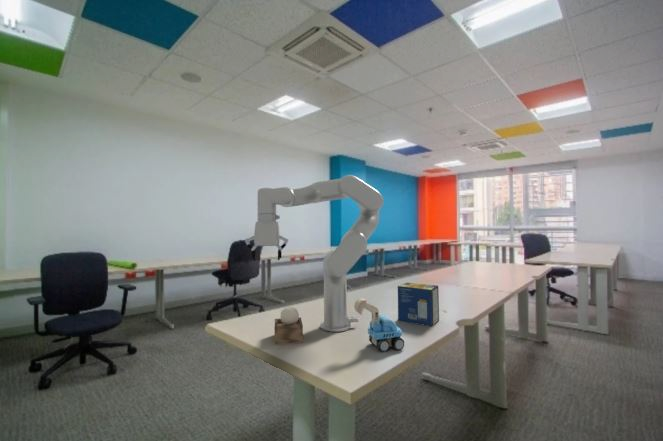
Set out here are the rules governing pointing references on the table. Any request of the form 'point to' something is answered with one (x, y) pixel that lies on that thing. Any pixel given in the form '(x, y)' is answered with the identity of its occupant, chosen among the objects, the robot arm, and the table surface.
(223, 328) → the table surface
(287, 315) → the steamed bun
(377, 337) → the toy excavator
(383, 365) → the table surface
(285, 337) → the walnut block
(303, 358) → the table surface
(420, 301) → the protein box
